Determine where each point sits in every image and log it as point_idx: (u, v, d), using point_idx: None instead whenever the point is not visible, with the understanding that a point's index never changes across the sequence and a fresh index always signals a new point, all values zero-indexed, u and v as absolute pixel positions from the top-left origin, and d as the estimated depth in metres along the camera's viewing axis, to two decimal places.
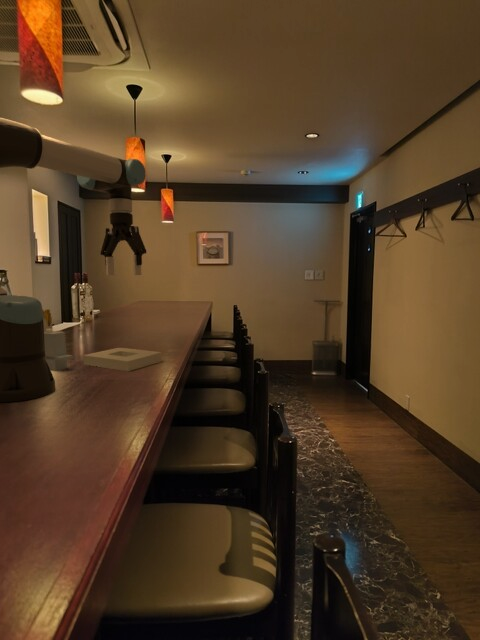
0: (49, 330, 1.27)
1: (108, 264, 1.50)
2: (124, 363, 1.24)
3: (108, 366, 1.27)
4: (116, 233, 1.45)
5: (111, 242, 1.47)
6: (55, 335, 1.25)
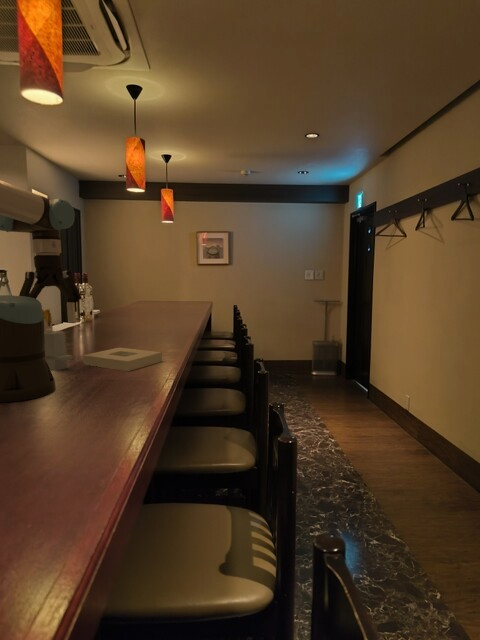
0: (49, 330, 1.27)
1: (68, 311, 1.33)
2: (124, 363, 1.24)
3: (108, 366, 1.27)
4: None
5: None
6: (55, 335, 1.25)
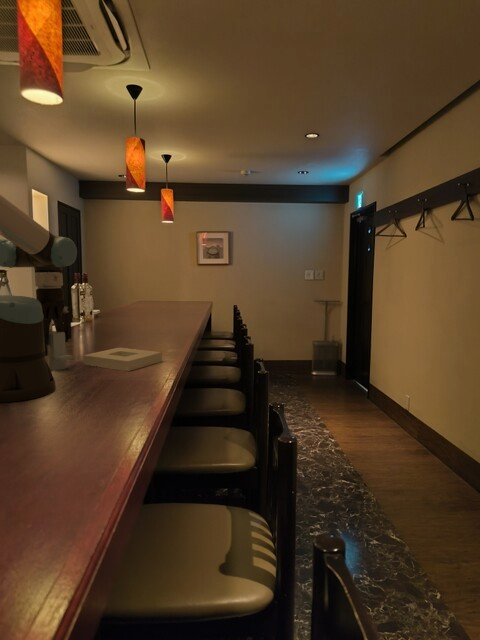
0: (49, 330, 1.27)
1: None
2: (124, 363, 1.24)
3: (108, 366, 1.27)
4: None
5: None
6: (55, 335, 1.25)
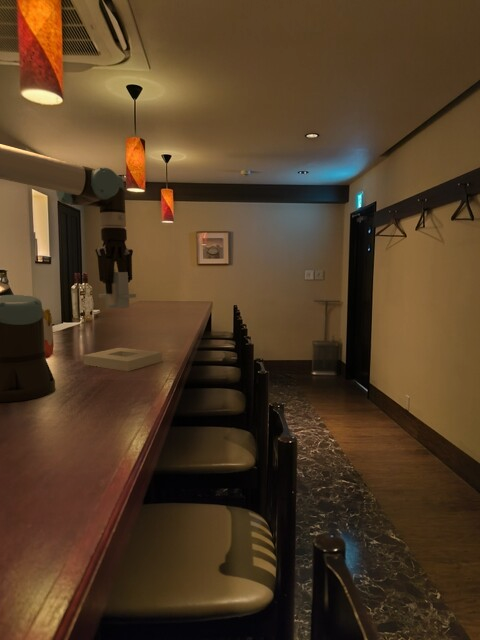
0: None
1: None
2: (124, 363, 1.24)
3: (108, 366, 1.27)
4: None
5: None
6: (120, 273, 1.29)
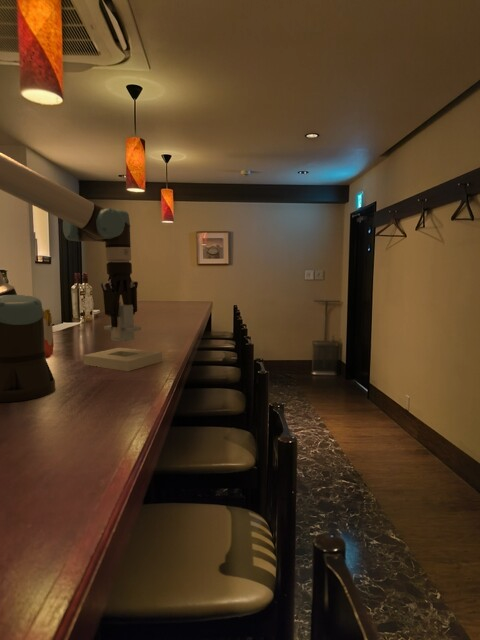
0: None
1: None
2: (124, 363, 1.24)
3: (108, 366, 1.27)
4: None
5: None
6: (125, 307, 1.30)
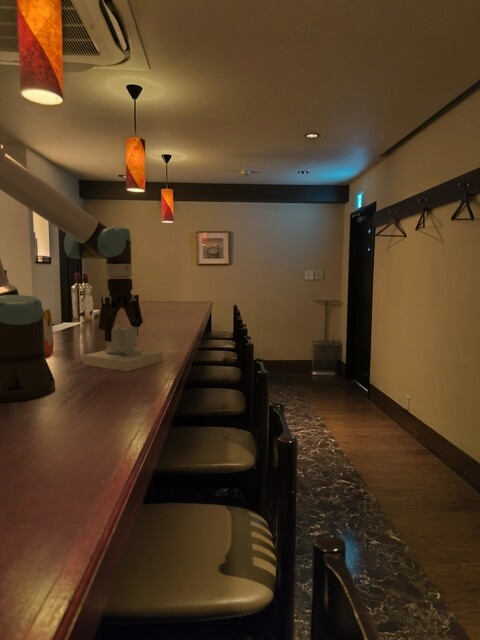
0: (118, 327, 1.33)
1: None
2: (124, 363, 1.24)
3: (108, 366, 1.27)
4: None
5: None
6: (125, 331, 1.31)
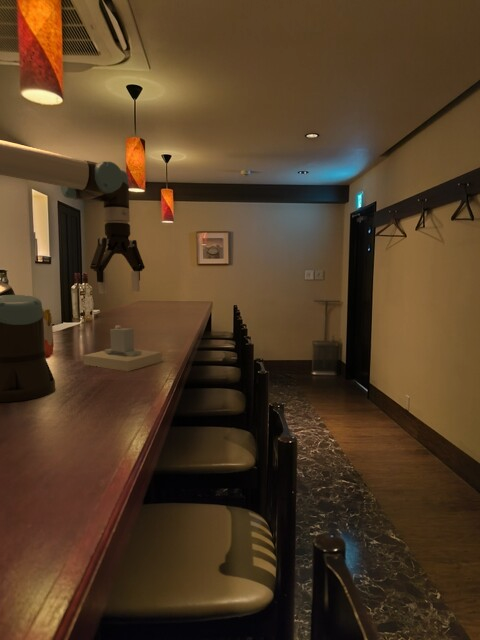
0: (118, 327, 1.33)
1: (132, 279, 1.37)
2: (124, 363, 1.24)
3: (108, 366, 1.27)
4: None
5: None
6: (125, 331, 1.31)
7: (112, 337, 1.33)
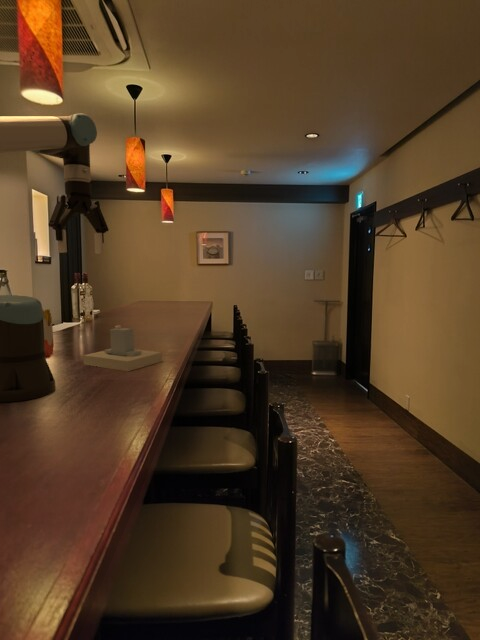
0: (118, 327, 1.33)
1: (95, 241, 1.36)
2: (124, 363, 1.24)
3: (108, 366, 1.27)
4: None
5: None
6: (125, 331, 1.31)
7: (112, 337, 1.33)
